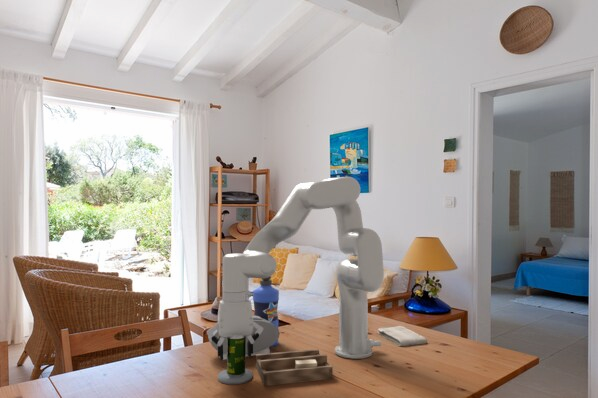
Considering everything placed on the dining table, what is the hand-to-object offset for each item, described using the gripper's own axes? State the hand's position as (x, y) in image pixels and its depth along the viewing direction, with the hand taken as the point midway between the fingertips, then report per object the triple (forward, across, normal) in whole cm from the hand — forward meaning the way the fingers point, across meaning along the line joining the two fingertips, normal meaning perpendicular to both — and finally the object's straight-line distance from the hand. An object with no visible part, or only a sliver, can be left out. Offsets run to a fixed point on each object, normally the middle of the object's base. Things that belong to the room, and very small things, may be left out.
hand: (235, 357), depth 126 cm
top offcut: (+4, -20, +5) cm, 21 cm away
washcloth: (+7, -64, -22) cm, 68 cm away
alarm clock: (+6, -5, -19) cm, 21 cm away
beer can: (+5, 0, 0) cm, 5 cm away
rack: (+6, -17, +2) cm, 18 cm away
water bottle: (+6, -14, -28) cm, 32 cm away
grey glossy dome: (+6, 0, 0) cm, 6 cm away
